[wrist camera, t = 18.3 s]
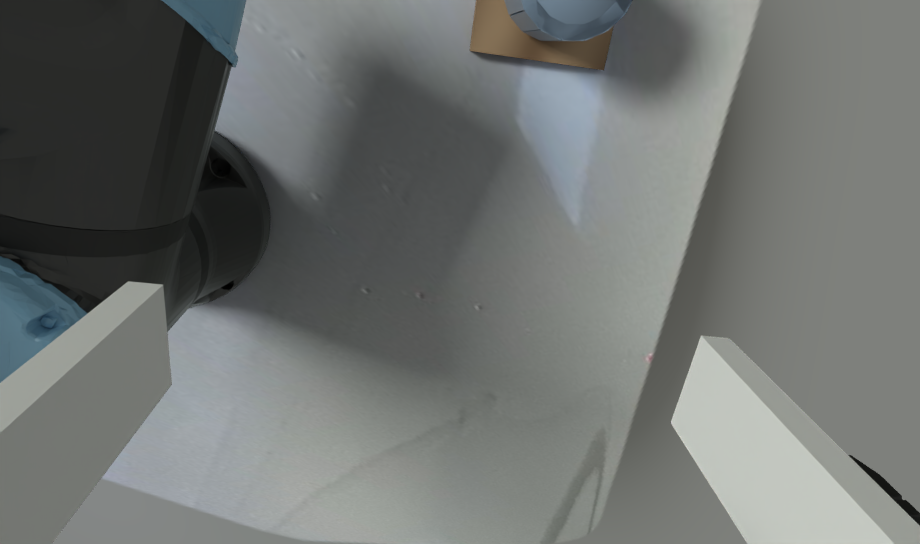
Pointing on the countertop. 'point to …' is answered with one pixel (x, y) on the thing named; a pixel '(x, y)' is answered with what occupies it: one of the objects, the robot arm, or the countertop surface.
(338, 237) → the countertop surface
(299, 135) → the countertop surface
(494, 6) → the wooden square stand
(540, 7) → the cap
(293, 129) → the countertop surface
